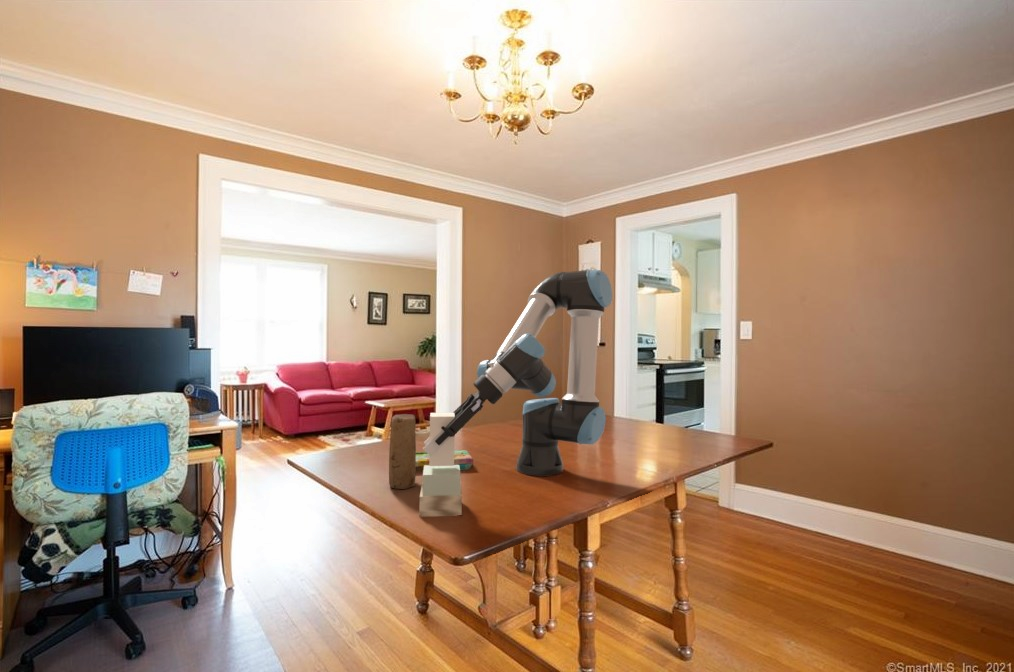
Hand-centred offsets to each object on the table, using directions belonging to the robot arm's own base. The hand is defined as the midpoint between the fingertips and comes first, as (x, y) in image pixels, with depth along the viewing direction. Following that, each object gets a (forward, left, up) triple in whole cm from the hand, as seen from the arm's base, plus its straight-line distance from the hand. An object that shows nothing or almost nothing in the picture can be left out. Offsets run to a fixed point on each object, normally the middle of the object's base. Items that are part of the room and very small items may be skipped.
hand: (427, 449), depth 123 cm
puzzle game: (-3, -40, -15) cm, 43 cm away
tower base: (-4, 0, -15) cm, 16 cm away
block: (+7, -21, -15) cm, 27 cm away
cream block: (-4, 0, -3) cm, 5 cm away
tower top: (-4, 0, -10) cm, 11 cm away
